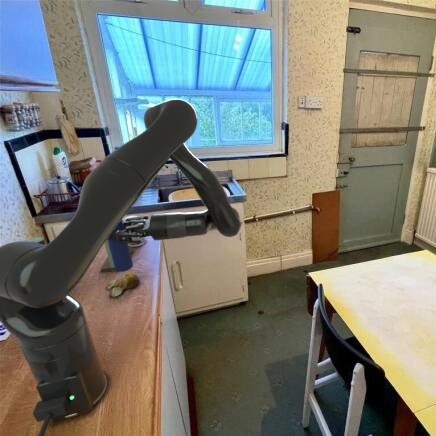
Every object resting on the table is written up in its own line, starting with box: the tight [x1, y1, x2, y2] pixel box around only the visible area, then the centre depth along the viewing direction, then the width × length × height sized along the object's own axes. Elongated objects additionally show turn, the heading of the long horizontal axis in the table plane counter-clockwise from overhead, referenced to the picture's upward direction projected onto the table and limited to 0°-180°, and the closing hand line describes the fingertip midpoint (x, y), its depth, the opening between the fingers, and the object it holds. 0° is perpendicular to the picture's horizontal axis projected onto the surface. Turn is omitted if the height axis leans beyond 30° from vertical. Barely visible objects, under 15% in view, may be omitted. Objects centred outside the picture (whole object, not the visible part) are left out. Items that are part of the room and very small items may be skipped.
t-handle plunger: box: [107, 219, 134, 273], centre depth 79 cm, size 8×5×22 cm, turn 15°
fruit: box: [107, 272, 140, 297], centre depth 87 cm, size 8×8×4 cm
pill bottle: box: [124, 215, 146, 248], centre depth 111 cm, size 6×6×11 cm
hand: (104, 231), depth 78 cm, fingers closed on t-handle plunger, 4 cm apart
